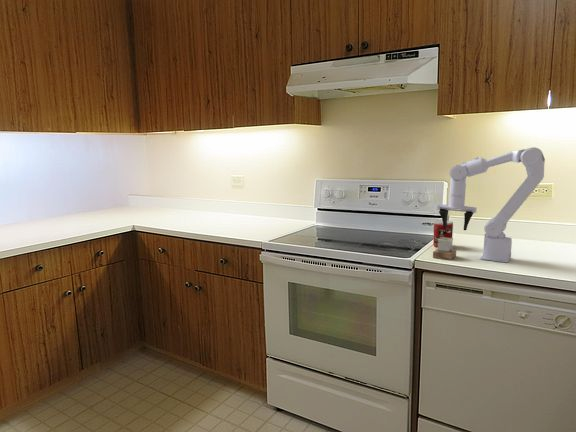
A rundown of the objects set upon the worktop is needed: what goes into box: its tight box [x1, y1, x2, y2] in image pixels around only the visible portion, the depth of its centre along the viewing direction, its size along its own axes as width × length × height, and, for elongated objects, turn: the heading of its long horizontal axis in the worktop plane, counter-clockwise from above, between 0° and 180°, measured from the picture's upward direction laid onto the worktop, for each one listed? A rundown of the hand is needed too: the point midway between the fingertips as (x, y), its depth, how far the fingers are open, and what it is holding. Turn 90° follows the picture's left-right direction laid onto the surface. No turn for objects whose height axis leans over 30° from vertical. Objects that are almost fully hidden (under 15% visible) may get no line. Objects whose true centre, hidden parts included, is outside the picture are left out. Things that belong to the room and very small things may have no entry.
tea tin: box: [438, 237, 454, 252], centre depth 164 cm, size 5×5×5 cm
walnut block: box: [432, 247, 457, 261], centre depth 165 cm, size 7×7×2 cm
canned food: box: [432, 219, 454, 249], centre depth 181 cm, size 8×8×11 cm
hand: (455, 228), depth 167 cm, fingers open, 7 cm apart
